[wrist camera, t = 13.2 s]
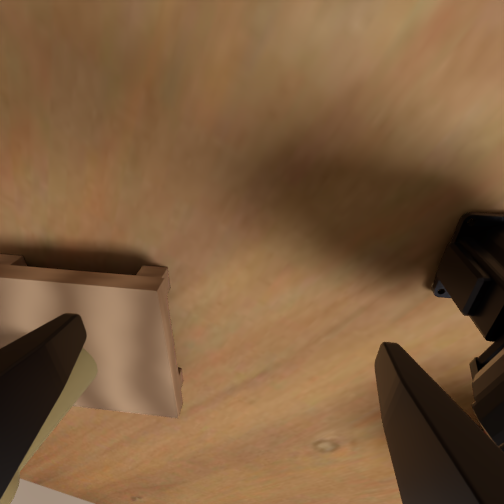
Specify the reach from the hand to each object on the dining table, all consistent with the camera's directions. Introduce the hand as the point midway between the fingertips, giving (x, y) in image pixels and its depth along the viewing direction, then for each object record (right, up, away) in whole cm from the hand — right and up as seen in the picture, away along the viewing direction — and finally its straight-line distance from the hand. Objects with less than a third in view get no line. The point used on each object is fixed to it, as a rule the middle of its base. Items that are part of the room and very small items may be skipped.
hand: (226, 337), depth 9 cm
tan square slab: (-13, -4, +19) cm, 24 cm away
